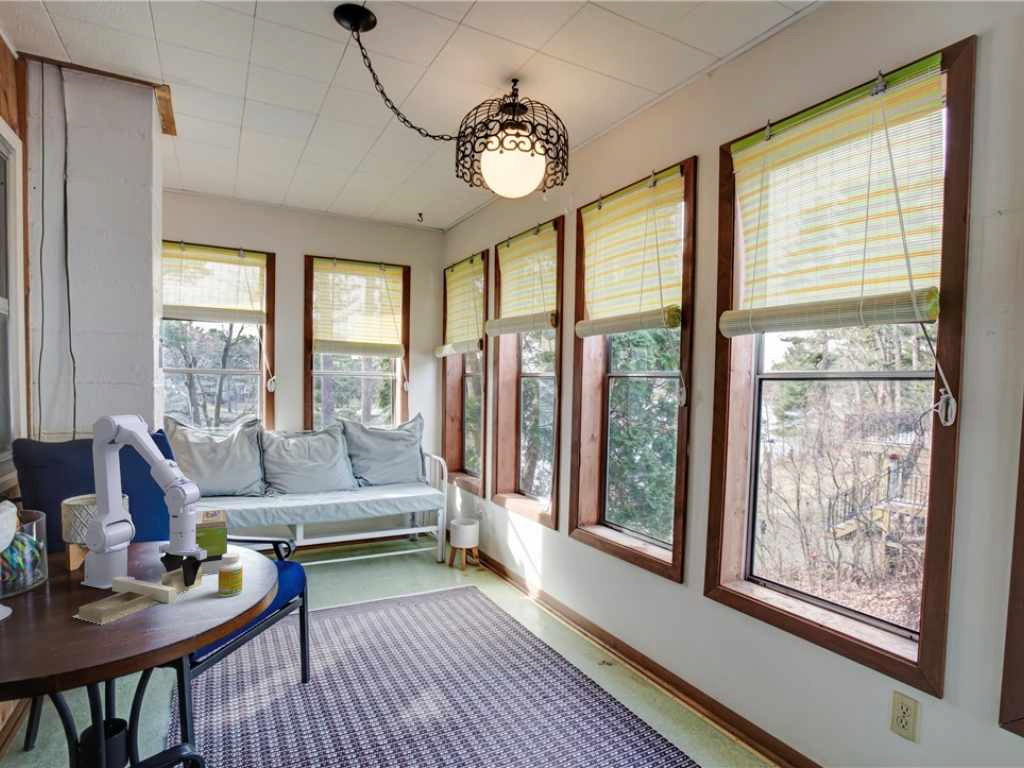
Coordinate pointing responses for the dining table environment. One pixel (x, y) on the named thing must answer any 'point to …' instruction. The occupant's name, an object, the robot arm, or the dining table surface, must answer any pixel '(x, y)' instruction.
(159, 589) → the board
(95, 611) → the keeper
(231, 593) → the supplement bottle
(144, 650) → the dining table surface
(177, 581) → the bar
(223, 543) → the tea box
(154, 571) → the dining table surface
